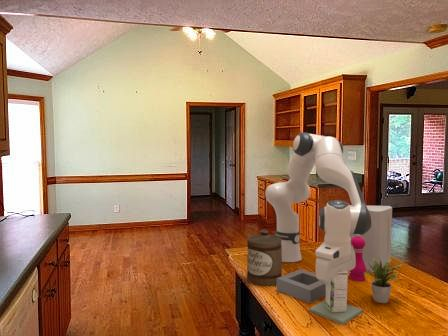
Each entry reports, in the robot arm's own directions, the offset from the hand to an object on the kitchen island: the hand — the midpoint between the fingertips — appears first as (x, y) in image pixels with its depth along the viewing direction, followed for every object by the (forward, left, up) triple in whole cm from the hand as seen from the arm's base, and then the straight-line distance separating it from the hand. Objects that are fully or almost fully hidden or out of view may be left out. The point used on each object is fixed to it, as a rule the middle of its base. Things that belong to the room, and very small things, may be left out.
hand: (336, 286), depth 131 cm
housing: (-18, +7, -9) cm, 21 cm away
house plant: (+7, +20, -9) cm, 23 cm away
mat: (0, 0, -9) cm, 9 cm away
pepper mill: (-11, +35, -9) cm, 38 cm away
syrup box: (0, 0, -8) cm, 8 cm away
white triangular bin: (-14, +54, -9) cm, 56 cm away
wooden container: (-37, +4, -9) cm, 39 cm away
